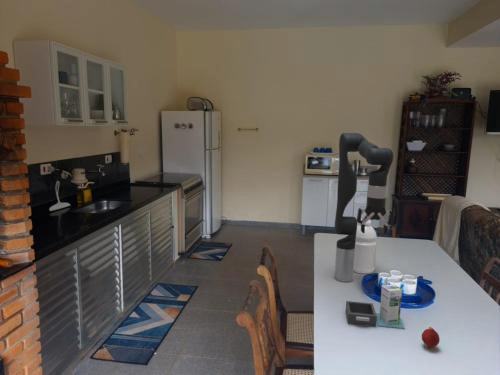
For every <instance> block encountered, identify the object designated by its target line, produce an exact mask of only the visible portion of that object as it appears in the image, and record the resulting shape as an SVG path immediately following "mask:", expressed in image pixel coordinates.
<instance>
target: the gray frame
mask: <svg viewBox="0 0 500 375" xmlns="http://www.w3.org/2000/svg"><path fill="white" fill-rule="evenodd" d="M374 306H375V305H374V304H373V302H372V303H370V302H360V301H350V300H349V301H348V300H346V301H345V311H344V312H345V315H346V320H347V324H348V325H352V326H364V327H371V328H372V327H374V328H377V324H378V323H377V315H376V313H377V312H376V310H375V307H374Z"/></svg>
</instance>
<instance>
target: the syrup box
mask: <svg viewBox="0 0 500 375" xmlns="http://www.w3.org/2000/svg"><path fill="white" fill-rule="evenodd" d="M402 294H403V289H402V288H401V287H399V286H398V285H397V284H395V283H393V284H383V285H381V293H380V308H379V313H380V318H381V319H382V320H383V321H384V322H385V323H386V324H390V323H399V322H400V318H401V308H402V307H401V306H402V296H403V295H402Z"/></svg>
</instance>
